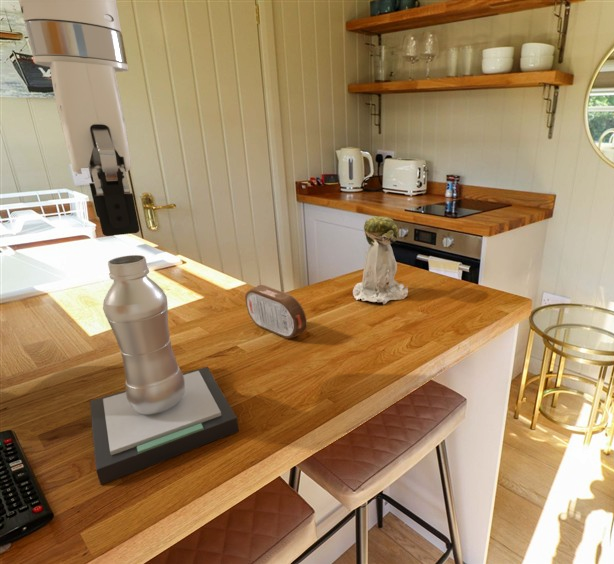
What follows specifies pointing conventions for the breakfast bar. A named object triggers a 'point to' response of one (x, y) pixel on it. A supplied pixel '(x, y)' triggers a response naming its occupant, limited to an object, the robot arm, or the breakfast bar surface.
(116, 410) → the scale
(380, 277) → the draped concrete planter
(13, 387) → the breakfast bar surface
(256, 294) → the tin
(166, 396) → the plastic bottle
